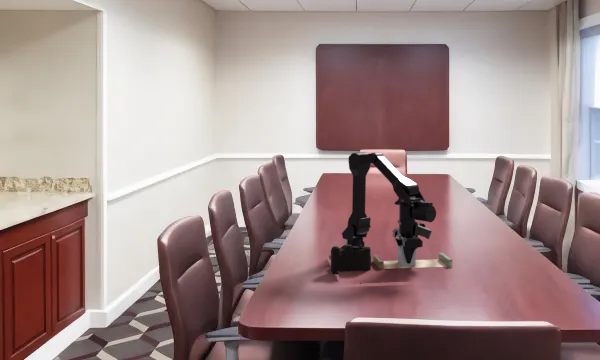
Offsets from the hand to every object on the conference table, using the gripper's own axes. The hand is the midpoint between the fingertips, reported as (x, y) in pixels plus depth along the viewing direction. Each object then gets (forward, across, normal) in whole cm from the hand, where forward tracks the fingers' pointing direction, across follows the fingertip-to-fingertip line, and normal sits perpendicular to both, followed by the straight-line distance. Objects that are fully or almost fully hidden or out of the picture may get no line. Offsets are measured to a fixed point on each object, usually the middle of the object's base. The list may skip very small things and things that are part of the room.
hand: (406, 261), depth 199 cm
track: (+2, 0, -2) cm, 3 cm away
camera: (+2, -2, +21) cm, 21 cm away
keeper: (+1, 0, 0) cm, 1 cm away
